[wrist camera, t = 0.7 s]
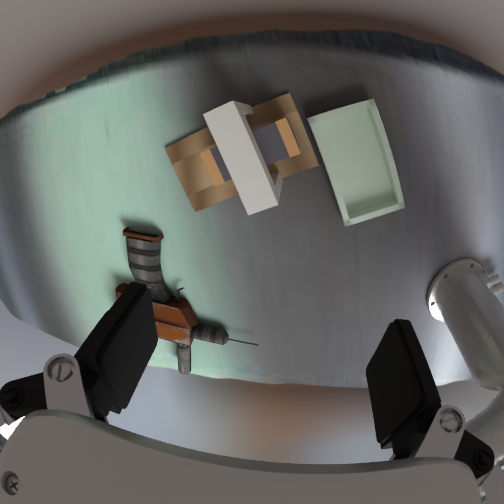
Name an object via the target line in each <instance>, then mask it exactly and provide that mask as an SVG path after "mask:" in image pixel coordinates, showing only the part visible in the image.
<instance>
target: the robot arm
mask: <svg viewBox="0 0 504 504" xmlns="http://www.w3.org/2000/svg"><path fill="white" fill-rule="evenodd" d="M499 280H500V278H499V275H498V274H496V275H494V276H492V277H491V278H488V277H486V276H485V272H484V269H483V268H482V266H481V265H480V264H479V263H478V262H477V261H475V260H473V259H470V258H464V259H459V260H456V261H454V262H452V263H450V264H449V265H447V266H446V267H445V268H444V269H442V271H441V272H440V273H439V274H438V275H437V276H436V278H435V279H434V280H433V282H432V284H431V286H430V289H429V291H428V295H427V306H428V309H429V311H430V313H431V315H432V316H433V317H434V318H435V319H437V320H439V321H444V322H445V323H446V325H447V326H448V328H449V330H450V332H451V334H452V336H453V338H454V340H455V342H456V344H457V346H458V348H459V350H460V352H461V354H462V356H463V359H464V361H465V363H466V365H467V367H468V370H469V372H470V374H471V376H472V378H473V380H474V381H475V383H476V384H478V385H479V386H480V387H483V388H485V389H489V390H494V391H498V395H497V396H496V397H495V398H494V399H493V400H492V401H491V402H490V403H489V404H488V405H486V406H485V407H484V408H483V409H481V410H480V411H479V412H478V413H476V414H475V415H474V416H472V417H471V418H469V419H468V420H467V421H465V417H464V415H463V413H462V412H461V411H460V410H459V409H458V408H457V407H455V406H452V405H445V406H441V403H440V402H441V399H440V396H439V393H438V390H437V388H436V385H435V382H434V379H433V376H432V373H431V371H430V368H429V365H428V363H427V360H426V358H425V355H424V353H423V350H422V348H421V345H420V343H419V340H418V338H417V336H416V333H415V331H414V329H413V326H412V324H411V322H410V321H409V320H403V319H395V320H394V322H391V323H390V324H389V326H388V328H387V330H386V332H385V334H384V336H383V338H382V340H381V342H380V344H379V345H378V347H377V349H376V351H375V353H374V355H373V356H372V358H371V360H370V362H369V364H368V365H367V368H366V377H367V382H368V388H369V393H370V399H371V405H372V411H373V417H374V423H375V431H376V438H377V442H378V443H380V444H381V449H388V448H393V455H392V456H391V458H390V459H389V461H382V462H370V463H356V464H291V463H276V462H265V461H256V460H247V459H240V458H233V457H228V456H222V455H216V454H211V453H206V452H201V451H197V450H192V449H188V448H184V447H180V446H176V445H172V444H169V443H165V442H162V441H158V440H155V439H152V438H148V437H145V436H142V435H138V434H136V433H133V432H130V431H127V430H124V429H121V428H118V427H115V426H112V425H110V424H109V423H108V420H107V417H106V416H107V415H108V413H109V411H112V412H115V413H118V414H120V412H121V410H122V408H123V409H125V408H126V407H127V406H128V404H129V402H130V399H131V397H132V395H133V393H134V391H135V389H136V386H137V385H138V382H139V380H140V378H141V376H142V374H143V372H144V370H145V368H146V366H147V364H148V362H149V360H150V358H151V356H152V354H153V352H154V350H155V348H156V345H157V342H158V335H157V329H156V323H155V317H154V310H153V303H152V296H151V290H150V289H148V288H147V286H146V284H142V283H137V282H131V283H130V284H129V285H128V286H127V288H126V289H125V290H124V291H123V293H122V294H121V295H120V297H119V298H118V299H117V300H116V302H115V303H114V304H113V306H112V307H111V308H110V310H108V311H107V312H106V313H105V314H104V315H103V317H102V318H101V319H100V321H99V322H98V323H97V325H96V326H95V328H94V329H93V330H92V332H91V333H90V334H89V336H88V337H87V339H86V340H85V341H84V343H83V344H82V346H81V347H80V348H79V350H78V351H77V353H76V354H75V356H74V357H73V356H71V355H69V354H58V355H55V356H53V357H51V358H50V359H49V360H48V361H47V362H46V364H45V366H44V371H43V372H42V373H39V374H35V375H31V376H28V377H24V378H21V379H17V380H13V381H10V382H8V383H6V384H5V385H4V386H3V387H2V388H1V390H0V504H504V470H502V469H501V468H500V467H501V466H503V465H504V307H503V305H502V304H501V303H500V302H499V300H498V299H497V298H496V296H495V295H498V294H500V293H502V292H503V290H504V288H503V284H502V283H501V282H499ZM497 282H499V283H497ZM495 283H497V284H495ZM492 284H495V285H493V286H492V287H490V286H491V285H492Z"/></svg>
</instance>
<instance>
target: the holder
mask: <svg viewBox="0 0 504 504" xmlns="http://www.w3.org/2000/svg"><path fill="white" fill-rule="evenodd" d="M252 109H253V112H254V114H253V115H251V116H249V117H246V120H247V122H248V124H249V127H250V129H251V131H254V130H256V129H259V128H261V127H264V126H266V125H269V124H272V123H274V122H276V121H278V120H281V119H284V118H288V121H289V123H290V126H291V128H292V130H293V133H294V135H295V138H296V140H297V143H298V145H299V148H300V152H301V154H298V155H296V156H293V157H288V158H285V159H283V160H280V161H277V162H274V163H272V164H269V165H266V166H267V168H268V171H269V173H270V175H272V174H275V173H277V172H280V175H281V177H282V178H285V177H287V176H290V175H293V174H296V173H299V172H302V171H305V170H308V169H310V168H313V167H316V166H319V164H318V162H317V159H316V156H315V154H314V151H313V148H312V146H311V143H310V141H309V138H308V136H307V133H306V131H305V128H304V126H303V123H302V121H301V118H300V116H299V114H298V111H297V109H296V107H295V104H294V102H293V100H292V98H291V95H290V93H287V94H285V95H282V96H279V97H276V98H274V99H271V100H268V101H266V102H263V103H261V104H258V105H256V106H253V107H252ZM216 146H217V144H216V142H215V140H214V138H213V136H212V134H211V131H210V129H209V127H206V128H204V129H202V130H200V131H198V132H196V133H194V134H192V135H190V136H188V137H186V138H184V139H182V140H180V141H178V142H176V143H174V144H172V145H171V146H169V147H167V148H165V150H166V152H167V154H168V156H169V158H170V161H171V163H172V165H173V167H174V169H175V171H176V173H177V175H178V177H179V179H180V182H181V184H182V186H183V188H184V190H185V192H186V194H187V196H188V198H189V200H190V202H191V204H192V206H193V208H194V210H195V212H196V211H199V210H201V209H204V208H206V207H208V206H211V205H213V204H216V203H218V202H221V201H223V200H226V199H228V198H231V197H234V196H236V195H239V193H238V191H237V189H236V186H235V184H234V182H233V180H232V179H231V180H228V181H226V182H225V183H222V184H220V185H218V186H215V185H214V183H213V180H212V178H211V176H210V174H209V172H208V170H207V167H206V165H205V163H204V161H203V159H202V157H201V155H200V153H202V152H204V151H207V150H209V149H211V148H214V147H216Z"/></svg>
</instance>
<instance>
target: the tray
mask: <svg viewBox="0 0 504 504" xmlns="http://www.w3.org/2000/svg"><path fill="white" fill-rule="evenodd" d="M306 119H307V121H308V124H309V126H310V129H311V131H312V134H313V136H314V139H315V141H316V144H317V147H318V149H319V152H320V155H321V157H322V160H323V163H324V165H325V168H326V171H327V174H328V177H329V180H330V183H331V185H332V188H333V191H334V194H335V198H336V201H337V204H338V207H339V210H340V213H341V216H342V220H343V222H344V224H345V227H346V226H349V225H353V224H356V223H359V222H362V221H365V220H368V219H371V218H374V217H378V216H381V215H384V214H387V213H390V212H393V211H396V210H399V209H403V208H405V204H404V200H403V195H402V190H401V186H400V182H399V178H398V174H397V170H396V166H395V162H394V159H393V155H392V152H391V148H390V145H389V142H388V138H387V135H386V132H385V129H384V126H383V123H382V120H381V117H380V114H379V111H378V109H377V106H376V103H375V101H374V99H370V100H366V101H362V102H358V103H355V104H351V105H348V106H344V107H341V108H337V109H334V110H331V111H328V112H324V113H321V114H318V115H315V116H312V117H309V118H306Z"/></svg>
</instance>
